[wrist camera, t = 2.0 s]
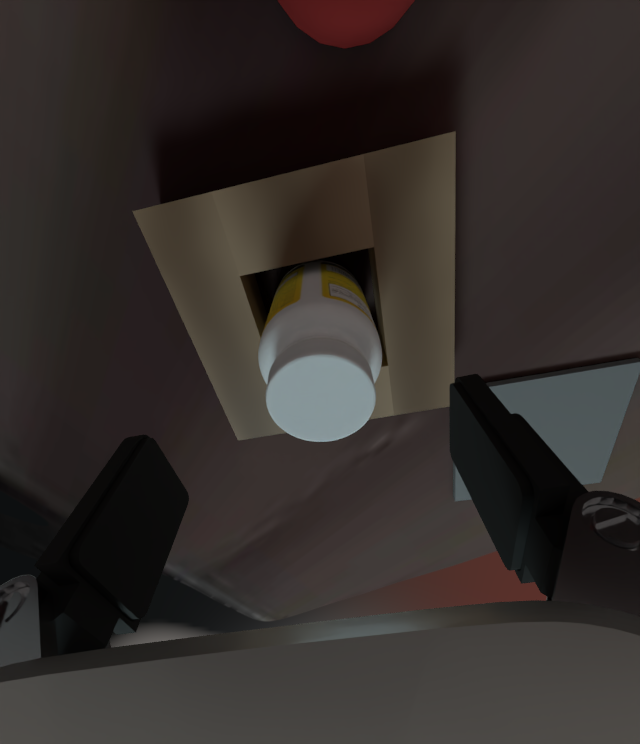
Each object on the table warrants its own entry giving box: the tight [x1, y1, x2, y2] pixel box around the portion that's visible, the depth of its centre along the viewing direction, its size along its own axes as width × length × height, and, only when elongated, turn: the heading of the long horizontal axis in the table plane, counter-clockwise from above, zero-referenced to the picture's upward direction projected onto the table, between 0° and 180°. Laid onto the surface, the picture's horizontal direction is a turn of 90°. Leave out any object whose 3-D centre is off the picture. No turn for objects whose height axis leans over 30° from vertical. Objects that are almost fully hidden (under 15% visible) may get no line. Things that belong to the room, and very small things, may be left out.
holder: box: [133, 131, 456, 440], centre depth 19 cm, size 14×14×3 cm
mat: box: [453, 358, 640, 501], centre depth 25 cm, size 12×12×1 cm
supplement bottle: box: [258, 260, 382, 442], centre depth 16 cm, size 5×5×10 cm
